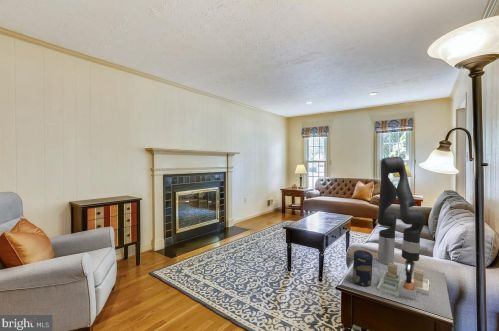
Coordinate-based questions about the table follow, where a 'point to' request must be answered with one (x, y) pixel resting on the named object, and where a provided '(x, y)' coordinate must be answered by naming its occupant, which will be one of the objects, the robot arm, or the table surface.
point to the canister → (362, 267)
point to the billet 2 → (418, 278)
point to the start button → (408, 285)
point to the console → (408, 292)
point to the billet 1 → (392, 271)
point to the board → (390, 284)
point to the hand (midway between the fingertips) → (408, 282)
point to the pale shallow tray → (425, 287)
